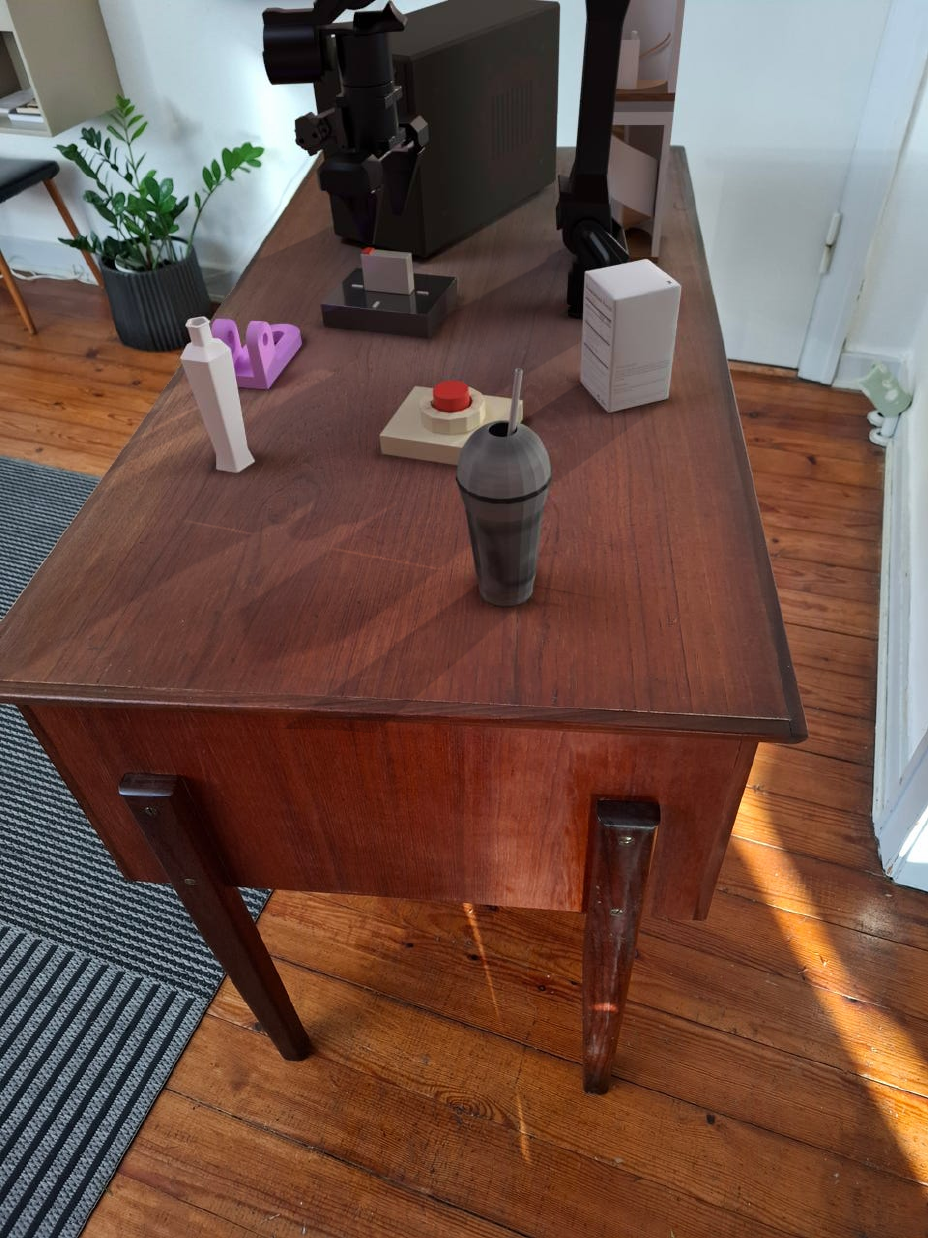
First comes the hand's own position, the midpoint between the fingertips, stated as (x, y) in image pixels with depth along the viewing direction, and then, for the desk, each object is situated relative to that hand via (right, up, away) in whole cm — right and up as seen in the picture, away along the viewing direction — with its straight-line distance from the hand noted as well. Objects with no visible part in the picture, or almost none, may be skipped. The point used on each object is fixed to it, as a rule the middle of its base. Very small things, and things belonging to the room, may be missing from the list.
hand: (384, 229), depth 106 cm
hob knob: (0, -5, +5) cm, 7 cm away
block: (+8, -27, -14) cm, 32 cm away
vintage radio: (+7, +17, +32) cm, 37 cm away
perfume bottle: (-14, -30, -15) cm, 37 cm away
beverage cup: (+13, -44, -31) cm, 55 cm away
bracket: (-14, -16, 0) cm, 21 cm away
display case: (+31, +4, +17) cm, 35 cm away
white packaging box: (+27, -22, -9) cm, 36 cm away
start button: (+8, -25, -17) cm, 31 cm away
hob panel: (0, -7, +7) cm, 10 cm away
